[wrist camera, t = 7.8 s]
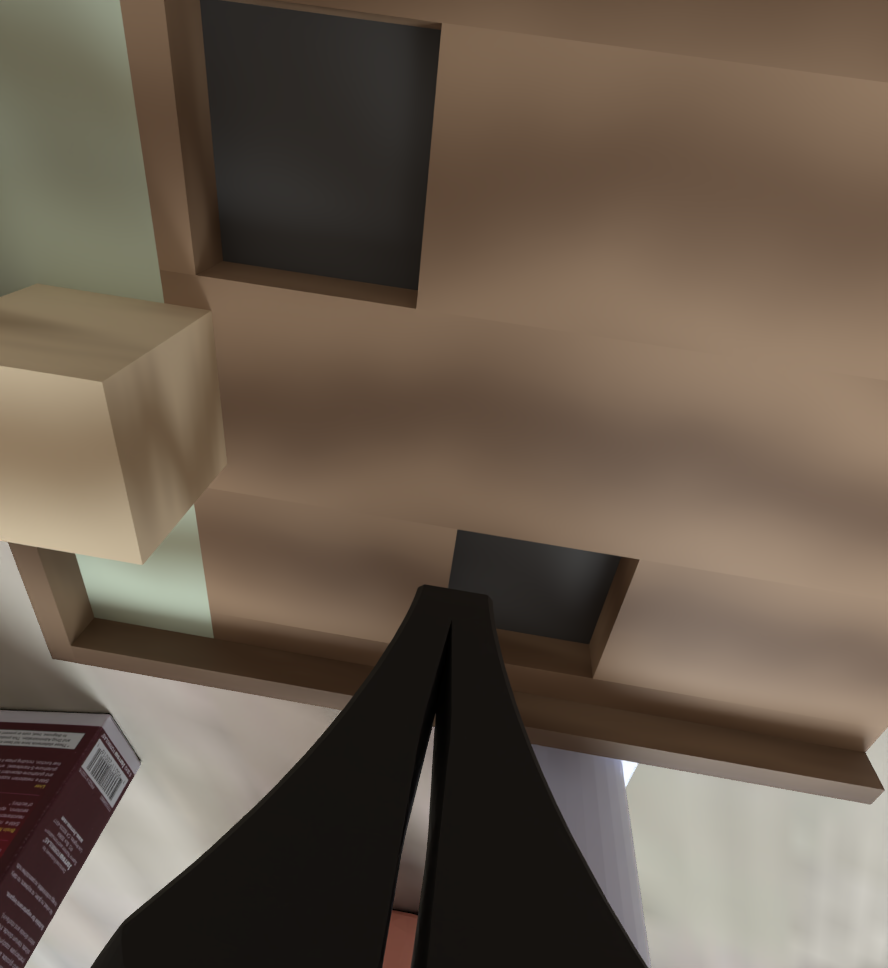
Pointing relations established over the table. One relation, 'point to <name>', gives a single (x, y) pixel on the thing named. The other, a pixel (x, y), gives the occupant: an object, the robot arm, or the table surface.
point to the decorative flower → (400, 940)
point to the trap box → (495, 349)
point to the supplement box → (52, 813)
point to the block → (104, 420)
